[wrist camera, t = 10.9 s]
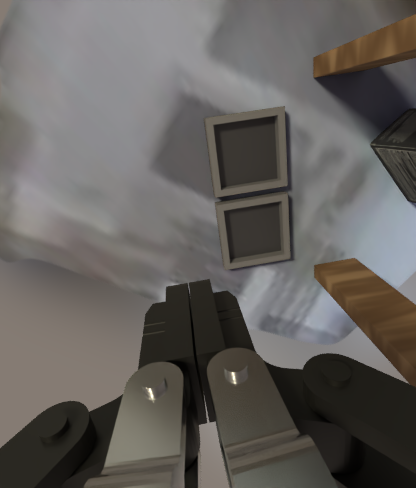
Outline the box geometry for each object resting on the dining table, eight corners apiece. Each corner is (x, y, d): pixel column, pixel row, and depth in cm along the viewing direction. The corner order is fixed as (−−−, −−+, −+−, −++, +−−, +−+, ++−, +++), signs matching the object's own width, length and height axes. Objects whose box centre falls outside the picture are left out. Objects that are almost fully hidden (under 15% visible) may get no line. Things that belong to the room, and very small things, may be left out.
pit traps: (203, 118, 36) (205, 118, 34) (280, 106, 36) (284, 106, 35) (223, 265, 43) (224, 270, 42) (286, 254, 43) (290, 258, 42)
